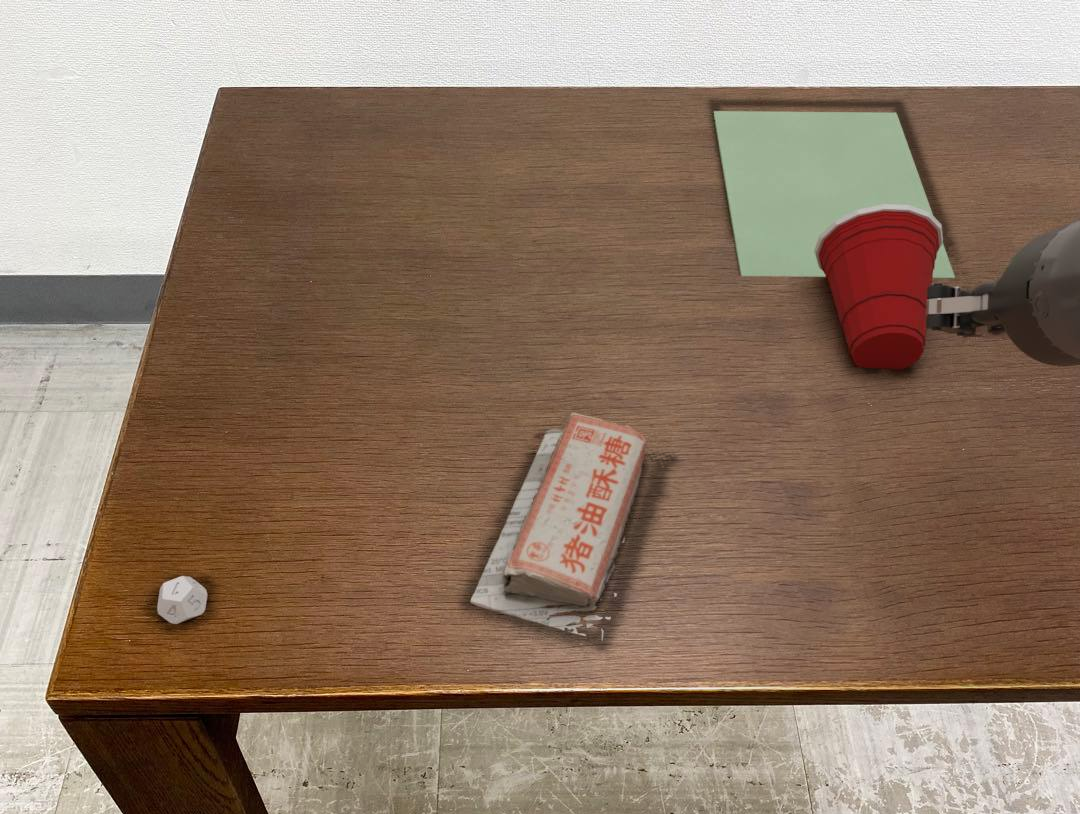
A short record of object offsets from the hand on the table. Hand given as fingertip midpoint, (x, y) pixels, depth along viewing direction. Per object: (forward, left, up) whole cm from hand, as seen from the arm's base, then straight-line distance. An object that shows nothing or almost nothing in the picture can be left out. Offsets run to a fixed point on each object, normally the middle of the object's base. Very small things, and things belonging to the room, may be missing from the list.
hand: (972, 321), depth 70 cm
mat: (+1, -35, -16) cm, 39 cm away
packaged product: (+27, +7, -16) cm, 32 cm away
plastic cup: (0, -10, -12) cm, 16 cm away
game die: (+55, +14, -16) cm, 59 cm away
